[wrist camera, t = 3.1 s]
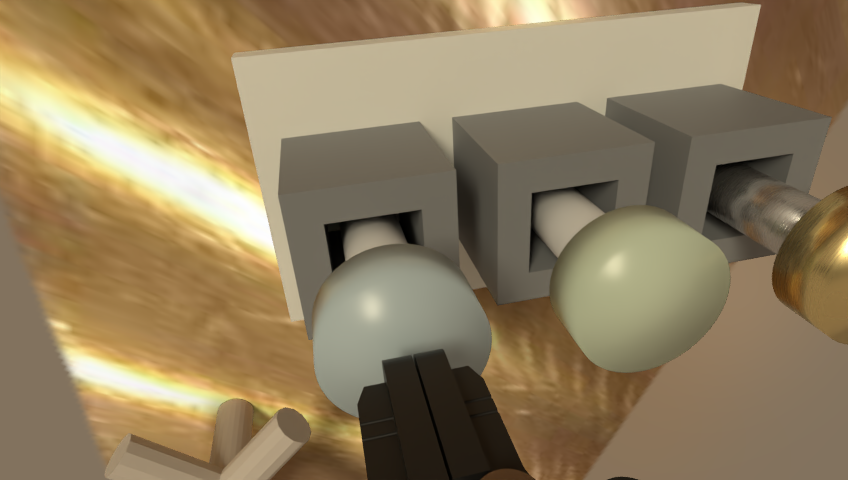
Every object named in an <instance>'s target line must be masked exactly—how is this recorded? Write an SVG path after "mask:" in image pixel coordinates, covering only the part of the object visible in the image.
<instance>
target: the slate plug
mask: <svg viewBox="0 0 848 480" xmlns="http://www.w3.org/2000/svg"><path fill="white" fill-rule="evenodd" d="M339 226H340V232H341V238H342V244H343V250H344V256H345V262H344V263H342V264H341V265H340V266H339V267H337V268H336V269H335V270H334V271H333V272H332V273H331V274H330V275H329V276H328V278H327V279H326V280H325V282H324V283H323V285H322V286H321V288H320V290H319V292H318V294H317V296H316V299H315V302H314V306H313V311H312V334H313V353H314V368H315V374H316V378H317V381H318V383H319V385H320V387H321V389H322V391H323V392H324V394H325V395H326V396H327V398H328V399H329V400H330V401H331V402H332V403H333V404H334V405H336V406H337V407H339V408H340V409H341V410H343V411H345V412H347V413H348V414H350V415H353V416H355V417H358V418H359V414H358V407H357V404H358V401H359V398H360V396H361V393H362V390H363V387H365V386H370V385H375V384H380V383H384V376H383V368H382V360H387V359H392V358H397V357H402V356H407V355H412V357H413V354H417V353H422V352H427V351H432V350H437V349H443V350H444V351H445V354H446V356H447V359H448V361H449V364H450V367H451V369H454V368H459V367H464V366H469V367H471V368H472V369H473V370H474V371H475V372H476V373H477V374H479V375H481V374H482V372H483V370H484V368H485V366H486V364H487V361H488V359H489V355H490V351H491V343H492V336H491V328H490V324H489V321H488V319H487V316H486V314H485V312H484V310H483V308H482V307H481V305H480V303H479V301H478V299H477V297H476V295H475V293H474V292H473V290H472V288H471V286H470V284H469V282H468V280H467V279H466V277H465V275H464V274H463V272H462V271H461V269H460V268H459V267H458V266H457V265H456V264H455V263H454V262H453V261H452V260H451V259H449V258H448V257H447V256H445V255H443V254H442V253H440V252H438V251H436V250H433V249H431V248H428V247H424V246H421V245H414V244H408V243H407V241H406V238H405V236H404V233H403V231H402V228H401V226H400V223H399V221H398V218H397V216H396V214H389V215H382V216H376V217H369V218H362V219H356V220H349V221H343V222H339Z"/></svg>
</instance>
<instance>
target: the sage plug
mask: <svg viewBox="0 0 848 480" xmlns="http://www.w3.org/2000/svg"><path fill="white" fill-rule="evenodd" d="M531 228H532V229H533V230H534V231H535V233H536V234H537V235H538V236H539V237H540V238H541V240H542V241H543V242H544V243H545V244H546V245H547V246H548V248H549V249H550V250H551V251H552V252H553V253H554V254H555V256H556V257H557V258H558V259H557V261H556V263H555V266H554V268H553V271H552V275H551V278H550V286H549V295H550V301H551V305H552V308H553V310H554V312H555V314H556V315H557V317H558V318H559V320H560V321H561V322H562V324H563V325H564V327H565V328H566V329H567V331H568V332H569V333H570V335H571V336H572V338H573V339H574V340H575V342H576V343H577V344H578V346H579V347H580V349H581V350H582V351H583V353H584V354H585V355H586V356H587V358H588V359H589V360H590V361H592V362H593V363H594V364H596V365H597V366H599V367H601V368H603V369H606V370H609V371H614V372H623V373H629V372H639V371H645V370H648V369H652V368H655V367H658V366H660V365H663V364H665V363H667V362H669V361H671V360H673V359H675V358H677V357H678V356H680V355H681V354H683V353H684V352H686V351H687V350H689V349H690V348H691V347H692V346H693V345H695V344H696V343H697V342H698V341H699V340H700V339H701V338H702V337H703V336H704V335H705V334H706V333H707V332H708V330H709V329H710V328H711V327H712V325H713V324H714V323H715V321H716V320H717V318H718V316H719V315H720V313H721V311H722V309H723V307H724V305H725V303H726V300H727V297H728V293H729V288H730V268H729V264H728V261H727V259H726V257H725V255H724V253H723V252H722V251H721V249H720V248H719V247H718V246H717V245H716V244H714V243H713V242H712V241H710V240H709V239H708V238H706V237H705V236H703V235H702V234H700V233H699V232H697V231H696V230H694V229H693V228H692V227H690V226H689V225H687V224H686V223H684V222H683V221H681V220H680V219H678V218H677V217H675V216H674V215H673V214H671V213H669V212H668V211H666V210H664V209H661V208H658V207H654V206H649V205H633V206H627V207H622V208H618V209H615V210H613V211H610V212H608V213H604V212H603V211H602V210H601V209H599V208H598V207H597V206H596V205H594V204H593V203H592V202H591V201H590V200H588V199H587V198H586V197H585V196H584V195H582V194H581V193H580V192H579V191H578V190H576V189H575V188H574V187H568V188H561V189H554V190H548V191H541V192H535V193H532V199H531Z"/></svg>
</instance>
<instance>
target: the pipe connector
mask: <svg viewBox="0 0 848 480" xmlns="http://www.w3.org/2000/svg"><path fill="white" fill-rule="evenodd" d="M253 413H254V411H253V407H252V405H251V404H250V403H249V402H247V401H245V400H242V399H232V400H228V401H226V402H224V403H223V404H222V405H221V406H220V407H219V409H218V413H217V419H216V425H215V431H214V437H213V444H212V450H211V456H210V462H209V463H207V462H205V461H202V460H199V459H197V458H194V457H191V456H189V455H186V454H183V453H181V452H178V451H175V450H173V449H170V448H167V447H165V446H162V445H159V444H157V443H154V442H151V441H149V440H146V439H143V438H141V437H138V436H135V435H133V434H130V433H129V434H128V435H127V436H125V437H124V438H123V440H122V441H121V443H120V444H119V445H118V447H117V448H116V450H115V452H114V454H113V455H112V457H111V459H110V461H109V464H108V466H107V468H106V472H105V477H106V478H108V479H111V480H270V479H271V478H272V477H273V476H274V475H275V474H276V473H277V472H278V471H279V470H280V469H281V468H282V467H283V466H284V465H285V464H286V463H287V462H288V461H289V460H290V459H291V458H292V456H293V455H294V454H295V453H296V452H297V451H298V450H299V449H300V448H301V447H302V446H303V445H304V444H305V443H306V442H307V441H308V440H309V438H310V435H311V430H310V427H309V423H308V422H307V421H306V419H305V418H304V417H303V415H301V414H300V413H298V412H297V411H296V410H294V409H290V408H286V407H285V408H283V409H280V410H278V412H277V413H276V414H275V415H274V416H273V417H272V418H271V419H270V420H269V421H268V422H267V423H266V424H265V425H264V426H263V428H262V429H261V430H260V431H259V432H258V433H257V434H256V435H255V436H254V437H253V438H252V439H251V436H252V425H253Z"/></svg>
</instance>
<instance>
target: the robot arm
mask: <svg viewBox="0 0 848 480" xmlns="http://www.w3.org/2000/svg"><path fill="white" fill-rule="evenodd" d="M382 368H383V376H384V383H380V384H375V385H370V386H365V387H363V390H362V393H361V396H360V398H359V401H358V404H357V407H358V414H359V421H360V428H361V435H362V442H363V449H364V456H365V463H366V470H367V477H368V480H535V479H534V478H533V477H532V476H530V475H529V474H528V472H527V471H526V470H525V468H524V467H523V465H522V463H521V461H520V458H519V456H518V454H517V452H516V450H515V447H514V445H513V443H512V441H511V439H510V436H509V434H508V432H507V430H506V427H505V425H504V423H503V421H502V419H501V416H500V414H499V413H498V411H497V408H496V405H495V403H494V401H493V399H492V398H491V394H490V392H489V390H488V388H487V386H486V383H485V381H484V379H483V378H482V377H481V376H480V375H479V374H477V373H476V372H475V371H474V370H473V369H472V368H471V367H469V366H464V367H459V368H454V369H451V367H450V364H449V361H448V359H447V356H446V354H445V351H444V350H443V349H437V350H432V351H427V352H422V353H417V354H413V357H412V355H407V356H402V357H397V358H392V359H387V360H382ZM608 480H638V479H634V478H629V477H615V478H611V479H608Z"/></svg>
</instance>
